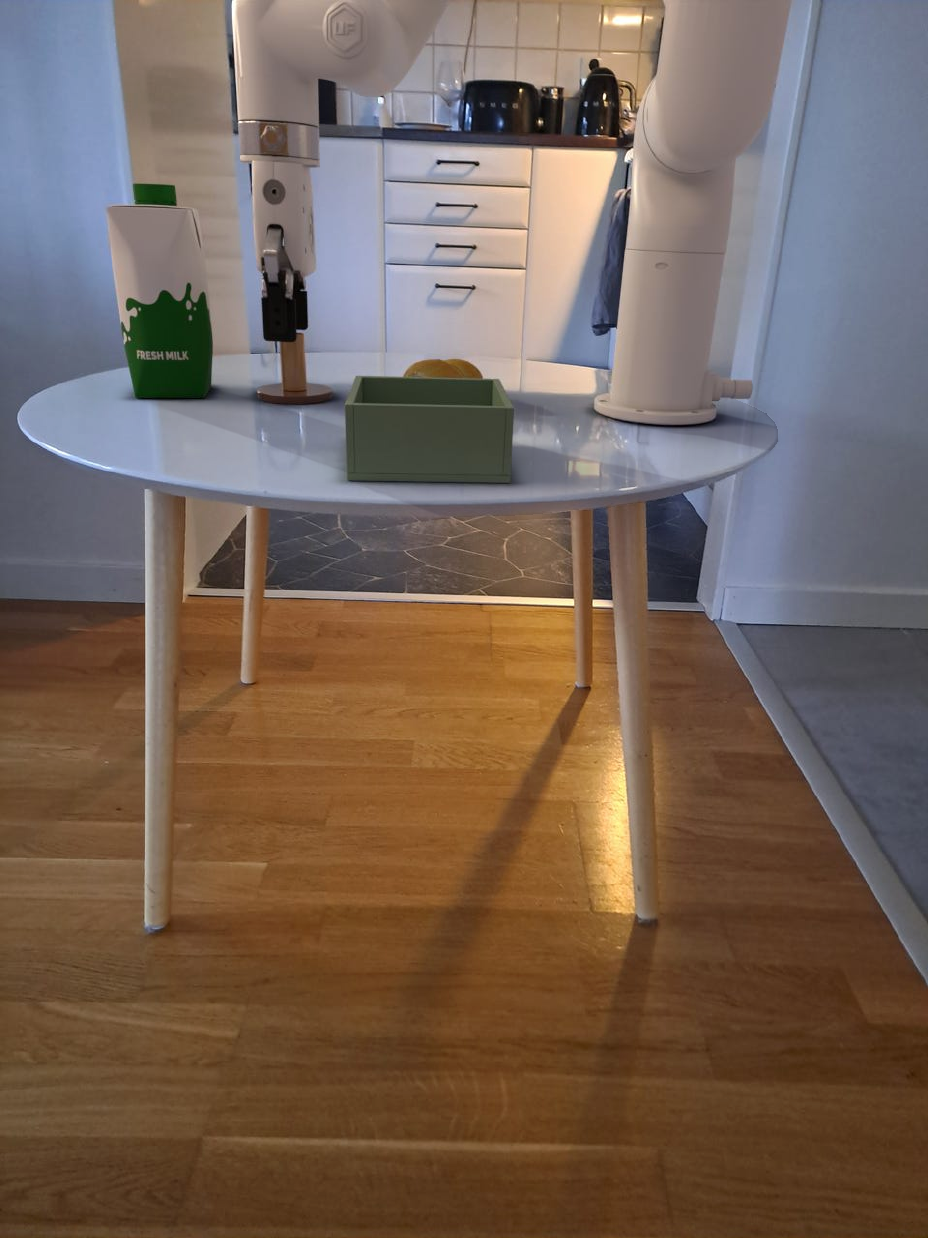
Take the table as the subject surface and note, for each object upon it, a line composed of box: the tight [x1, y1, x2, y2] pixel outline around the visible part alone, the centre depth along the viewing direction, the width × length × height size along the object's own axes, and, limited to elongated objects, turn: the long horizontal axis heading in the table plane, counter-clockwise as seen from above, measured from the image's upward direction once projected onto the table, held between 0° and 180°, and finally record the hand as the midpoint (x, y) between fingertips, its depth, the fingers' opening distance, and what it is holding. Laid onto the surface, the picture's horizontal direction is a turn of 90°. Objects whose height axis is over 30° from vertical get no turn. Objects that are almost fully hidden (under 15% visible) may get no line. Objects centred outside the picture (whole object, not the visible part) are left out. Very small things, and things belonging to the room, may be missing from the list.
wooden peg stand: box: [256, 331, 334, 405], centre depth 89 cm, size 8×8×6 cm
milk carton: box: [105, 182, 214, 399], centre depth 86 cm, size 9×9×20 cm
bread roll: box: [402, 358, 484, 379], centre depth 93 cm, size 8×9×4 cm
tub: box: [344, 375, 515, 484], centre depth 67 cm, size 12×12×6 cm
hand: (287, 334), depth 87 cm, fingers open, 9 cm apart
